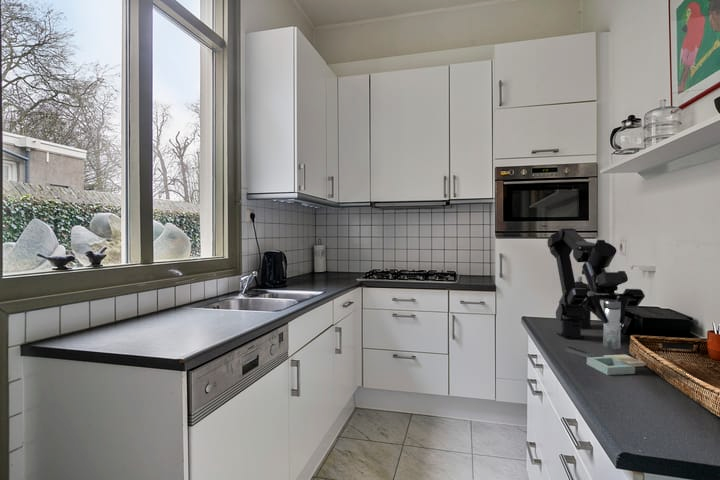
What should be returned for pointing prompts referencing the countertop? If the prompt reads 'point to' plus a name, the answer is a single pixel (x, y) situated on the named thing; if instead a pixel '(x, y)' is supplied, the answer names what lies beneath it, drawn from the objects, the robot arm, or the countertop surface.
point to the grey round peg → (612, 323)
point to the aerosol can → (587, 323)
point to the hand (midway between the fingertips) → (614, 322)
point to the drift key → (579, 352)
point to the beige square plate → (628, 360)
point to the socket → (617, 367)
